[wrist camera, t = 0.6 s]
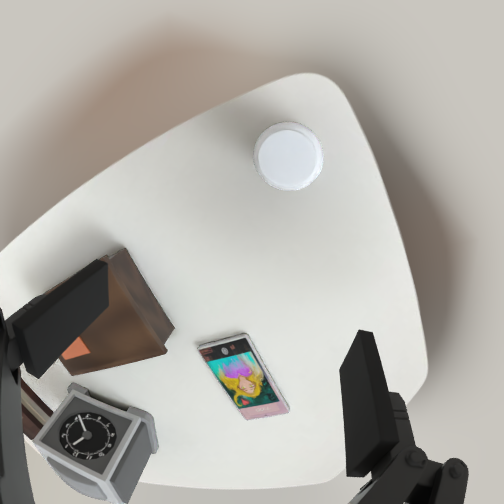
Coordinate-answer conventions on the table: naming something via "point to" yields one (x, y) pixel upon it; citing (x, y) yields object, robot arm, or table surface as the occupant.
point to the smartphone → (244, 377)
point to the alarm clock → (97, 446)
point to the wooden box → (120, 323)
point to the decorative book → (33, 412)
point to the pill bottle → (288, 156)
